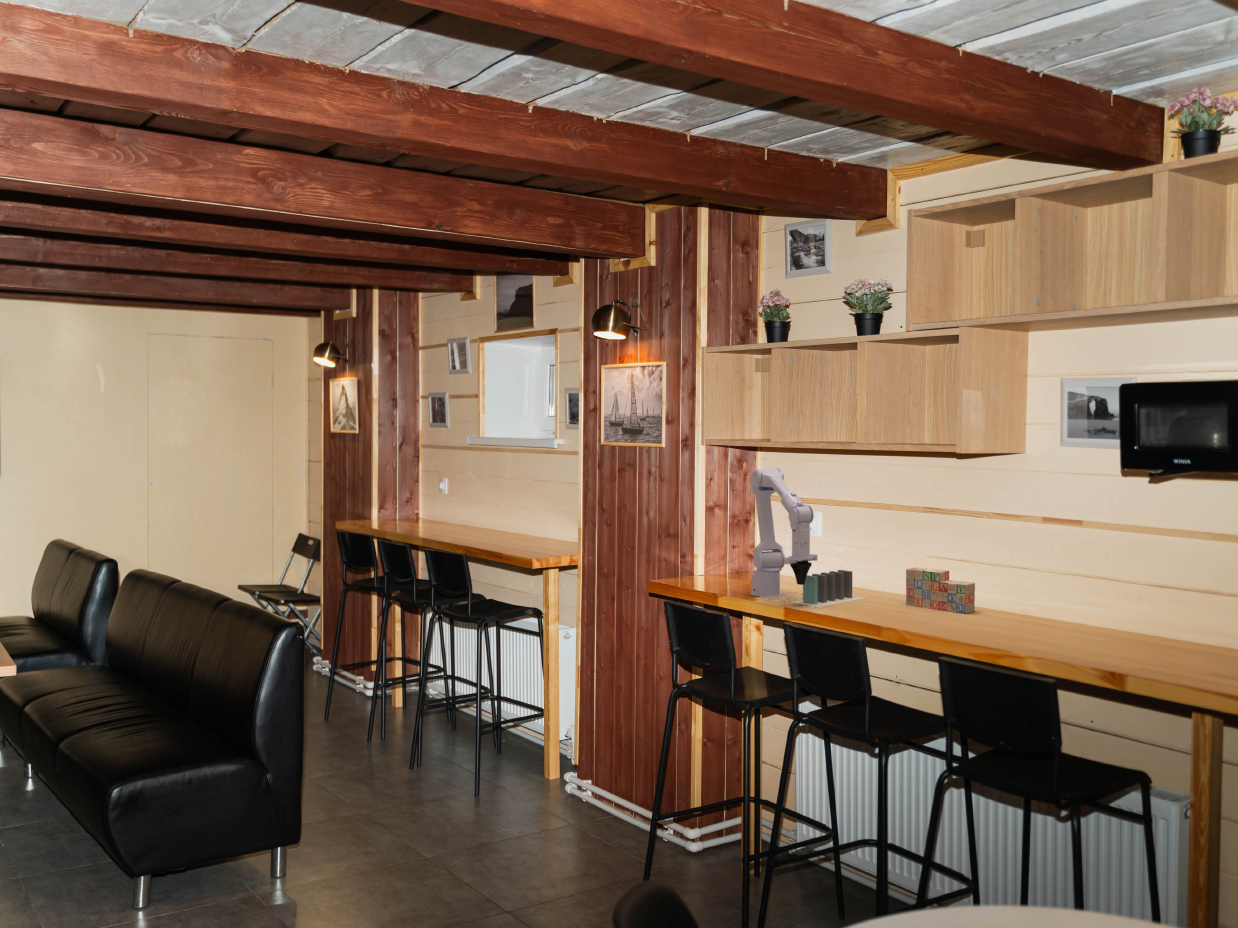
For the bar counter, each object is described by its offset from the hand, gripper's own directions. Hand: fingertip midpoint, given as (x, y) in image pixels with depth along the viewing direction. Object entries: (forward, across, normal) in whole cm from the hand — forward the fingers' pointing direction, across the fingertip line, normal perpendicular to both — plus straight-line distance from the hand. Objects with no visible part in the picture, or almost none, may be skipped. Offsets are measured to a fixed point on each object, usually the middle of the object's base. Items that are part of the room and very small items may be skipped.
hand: (800, 584), depth 348 cm
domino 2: (+7, +10, 0) cm, 12 cm away
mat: (+7, +14, 0) cm, 16 cm away
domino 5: (+7, +23, 0) cm, 24 cm away
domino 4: (+7, +18, 0) cm, 20 cm away
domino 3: (+7, +14, 0) cm, 16 cm away
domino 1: (+7, +5, 0) cm, 8 cm away
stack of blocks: (+8, +31, -32) cm, 45 cm away
